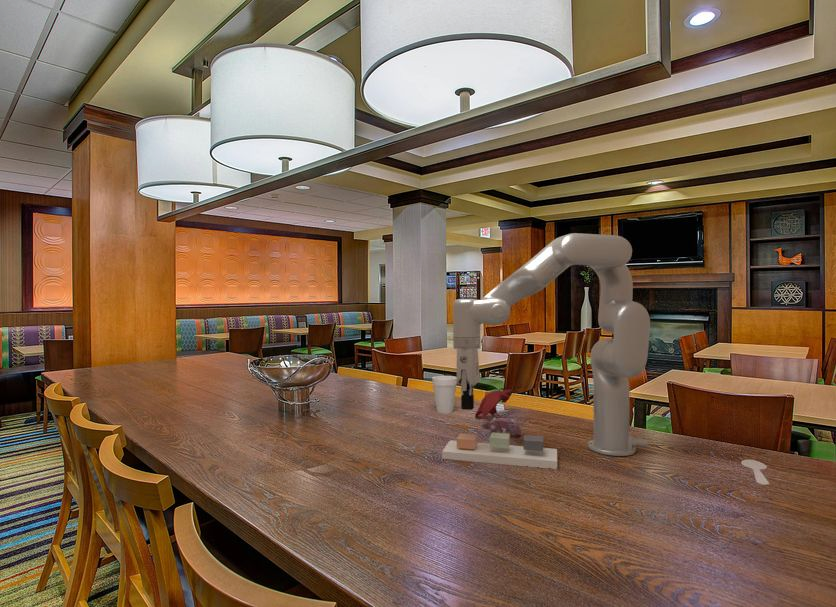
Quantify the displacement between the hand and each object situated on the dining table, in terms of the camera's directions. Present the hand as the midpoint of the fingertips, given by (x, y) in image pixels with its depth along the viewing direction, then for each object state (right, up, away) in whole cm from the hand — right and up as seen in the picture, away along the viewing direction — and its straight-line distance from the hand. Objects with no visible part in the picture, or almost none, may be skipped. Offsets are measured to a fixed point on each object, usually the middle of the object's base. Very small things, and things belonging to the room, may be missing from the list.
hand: (467, 408), depth 129 cm
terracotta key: (0, -10, 0) cm, 10 cm away
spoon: (+70, -13, -14) cm, 73 cm away
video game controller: (+14, -13, +18) cm, 26 cm away
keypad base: (+9, -13, -2) cm, 16 cm away
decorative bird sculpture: (+13, -12, +37) cm, 41 cm away
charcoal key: (+17, -9, -5) cm, 20 cm away
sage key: (+9, -9, -2) cm, 13 cm away
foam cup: (-3, -12, +49) cm, 51 cm away
